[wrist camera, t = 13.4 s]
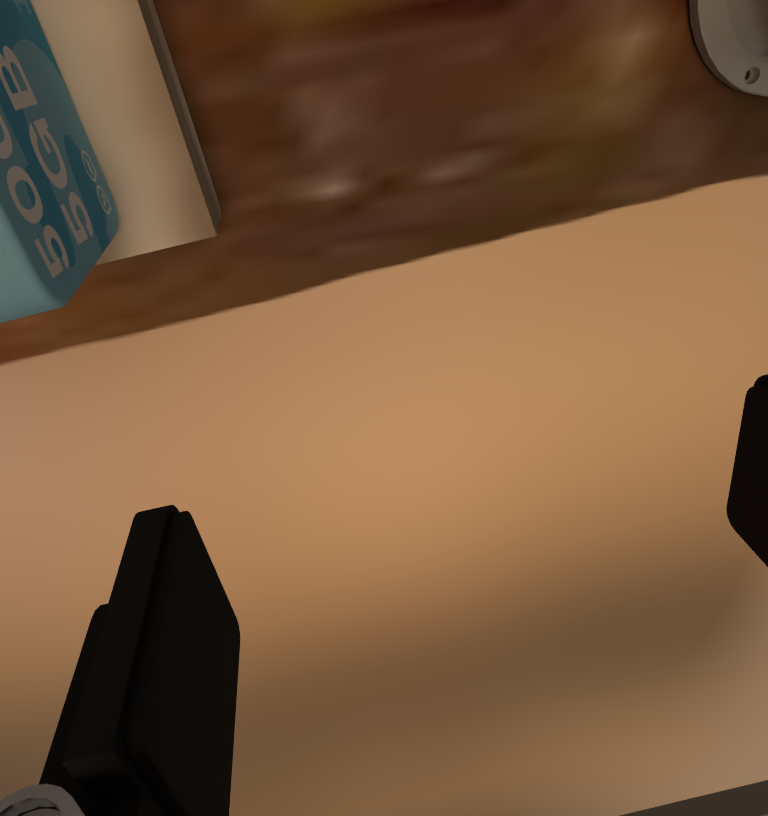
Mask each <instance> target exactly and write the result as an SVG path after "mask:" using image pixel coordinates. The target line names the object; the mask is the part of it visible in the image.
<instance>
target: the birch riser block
mask: <svg viewBox="0 0 768 816" xmlns="http://www.w3.org/2000/svg"><path fill="white" fill-rule="evenodd" d="M30 2H31V4H32V7H33V9H34V11H35V14H36V16H37V19H38V21H39V23H40V26H41V28H42V30H43V33H44V35H45V38H46V40H47V42H48V45H49V47H50V49H51V52H52V54H53V57H54V59H55V61H56V64H57V66H58V68H59V71H60V73H61V76H62V78H63V80H64V83H65V85H66V87H67V90H68V92H69V95H70V97H71V99H72V102H73V104H74V106H75V109H76V111H77V114H78V116H79V118H80V121H81V123H82V126H83V128H84V130H85V133H86V135H87V137H88V140H89V142H90V145H91V147H92V149H93V152H94V154H95V156H96V159H97V161H98V164H99V166H100V168H101V171H102V173H103V175H104V178H105V180H106V183H107V185H108V187H109V190H110V192H111V195H112V197H113V200H114V203H115V207H116V211H117V215H118V232H117V234H116V235H115V237H114V238H113V239H112V241H111V242H110V244H109V245H108V246H107V248H106V249H105V251H104V252H103V253H102V255H101V256H100V258H99V259H98V261H97V262H96V263H95V265H99V264H103V263H107V262H111V261H115V260H119V259H124V258H128V257H132V256H136V255H140V254H144V253H148V252H153V251H157V250H161V249H165V248H169V247H173V246H177V245H182V244H186V243H190V242H194V241H198V240H202V239H206V238H211V237H215V236H217V233H218V228H219V223H220V218H221V214H222V211H221V208H220V205H219V201H218V198H217V195H216V192H215V189H214V186H213V183H212V180H211V177H210V174H209V171H208V168H207V165H206V162H205V159H204V156H203V152H202V149H201V146H200V143H199V140H198V137H197V134H196V131H195V128H194V125H193V122H192V119H191V116H190V113H189V110H188V107H187V104H186V100H185V97H184V94H183V91H182V88H181V85H180V82H179V79H178V76H177V73H176V70H175V67H174V64H173V61H172V58H171V55H170V51H169V48H168V45H167V42H166V39H165V36H164V33H163V30H162V27H161V24H160V21H159V18H158V15H157V12H156V9H155V6H154V2H153V0H30ZM95 265H94V266H95Z"/></svg>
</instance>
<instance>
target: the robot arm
mask: <svg viewBox="0 0 768 816" xmlns="http://www.w3.org/2000/svg"><path fill="white" fill-rule="evenodd" d="M689 7H690V22H691V27H692V31H693V35H694V39H695V43H696V46H697V48H698V50H699V52H700V54H701V56H702V58H703V61H704V63H705V64H706V65H707V66H708V68H709V69H710V70H711V71H712V73H713V74H714V75H715V76H716V77H717V78H718V79H719V80H721V81H722V82H723V83H725V84H726V85H728V86H729V87H730V88H733V89H736V90H738V91H741V92H743V93H746V94H753V95H759V96H768V0H689ZM727 516H728V519H729V522H730V524H731V526H732V527H733V528H734V529H735V531H736V532H737V533H738V534H739V535H740V537H741V538H742V539H743V540H744V541H745V542H746V543H747V544H748V545H749V547H750V548H751V549H752V550H753V551H754V552H755V553H756V554H757V556H759V558H760V559H761V560H762V561H763V562H764V563H765V564H766V566H767V567H768V375H763V376H761V377H759V378H758V379H757V380H756V382H755V384H754V387H751V388H749V390H748V391H747V394H746V397H745V403H744V409H743V415H742V421H741V427H740V432H739V438H738V444H737V450H736V456H735V462H734V467H733V473H732V480H731V485H730V491H729V497H728V503H727ZM239 651H240V631H239V625H238V621H237V618H236V616H235V614H234V611H233V609H232V607H231V605H230V602H229V600H228V598H227V595H226V593H225V591H224V588H223V586H222V584H221V582H220V579H219V577H218V575H217V572H216V570H215V568H214V566H213V564H212V561H211V559H210V557H209V554H208V552H207V550H206V547H205V545H204V543H203V541H202V538H201V536H200V534H199V531H198V529H197V527H196V525H195V522H194V520H193V518H192V516H191V514H190V513H189V512H188V511H183V512H179V511H178V509H177V508H176V507H175V506H174V505H169V506H164V507H160V508H155V509H151V510H146V511H141V512H138V513H137V514H136V515H135V517H134V519H133V522H132V525H131V529H130V532H129V536H128V539H127V543H126V546H125V549H124V553H123V556H122V560H121V563H120V566H119V569H118V573H117V576H116V579H115V583H114V586H113V590H112V593H111V596H110V600H109V603H108V604H104V605H100V606H99V607H98V608H97V609H96V610H95V612H94V614H93V617H92V619H91V622H90V625H89V628H88V631H87V634H86V637H85V640H84V644H83V647H82V650H81V653H80V656H79V659H78V663H77V666H76V669H75V672H74V675H73V678H72V681H71V685H70V688H69V691H68V694H67V697H66V701H65V704H64V707H63V710H62V713H61V716H60V719H59V722H58V726H57V729H56V732H55V735H54V738H53V741H52V745H51V748H50V751H49V754H48V757H47V760H46V764H45V767H44V770H43V773H42V776H41V779H40V782H39V785H33V786H27V787H25V788H23V789H20V790H18V791H16V792H14V793H11V794H9V795H7V796H6V797H4V798H3V799H2V800H0V816H229V805H230V790H231V789H230V788H231V775H232V774H231V773H232V759H233V744H234V728H235V727H234V726H235V713H236V696H237V681H238V666H239ZM620 816H768V780H766V781H762V782H758V783H754V784H750V785H745V786H741V787H737V788H733V789H729V790H724V791H720V792H716V793H712V794H708V795H704V796H699V797H695V798H691V799H687V800H683V801H678V802H674V803H670V804H666V805H662V806H658V807H654V808H649V809H645V810H642V811H637V812H633V813H629V814H625V815H620Z"/></svg>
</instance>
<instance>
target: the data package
mask: <svg viewBox="0 0 768 816" xmlns="http://www.w3.org/2000/svg"><path fill="white" fill-rule="evenodd" d="M117 232H118V215H117V211H116V207H115V203H114V200H113V197H112V195H111V192H110V190H109V187H108V185H107V183H106V180H105V178H104V175H103V173H102V171H101V168H100V166H99V164H98V161H97V159H96V156H95V154H94V152H93V149H92V147H91V145H90V142H89V140H88V137H87V135H86V133H85V130H84V128H83V126H82V123H81V121H80V118H79V116H78V114H77V111H76V109H75V106H74V104H73V102H72V99H71V97H70V95H69V92H68V90H67V87H66V85H65V83H64V80H63V78H62V76H61V73H60V71H59V68H58V66H57V64H56V61H55V59H54V57H53V54H52V52H51V49H50V47H49V45H48V42H47V40H46V38H45V35H44V33H43V30H42V28H41V26H40V23H39V21H38V19H37V16H36V14H35V11H34V9H33V7H32V4H31V2H30V0H0V323H2V322H6V321H10V320H14V319H18V318H22V317H26V316H30V315H34V314H38V313H42V312H46V311H50V310H54V309H58V308H61V307H63V306H65V305H66V304H67V303H68V301H69V300H70V299H71V297H72V296H73V294H74V293H75V292H76V290H77V289H78V287H79V286H80V284H81V283H82V282H83V280H84V279H85V277H86V276H87V275H88V273H89V272H90V270H91V269H92V268H93V266H94V265H95V263H96V262H97V261H98V259H99V258H100V256H101V255H102V253H103V252H104V251H105V249H106V248H107V246H108V245H109V244H110V242H111V241H112V239H113V238H114V237H115V235H116V234H117Z"/></svg>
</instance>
